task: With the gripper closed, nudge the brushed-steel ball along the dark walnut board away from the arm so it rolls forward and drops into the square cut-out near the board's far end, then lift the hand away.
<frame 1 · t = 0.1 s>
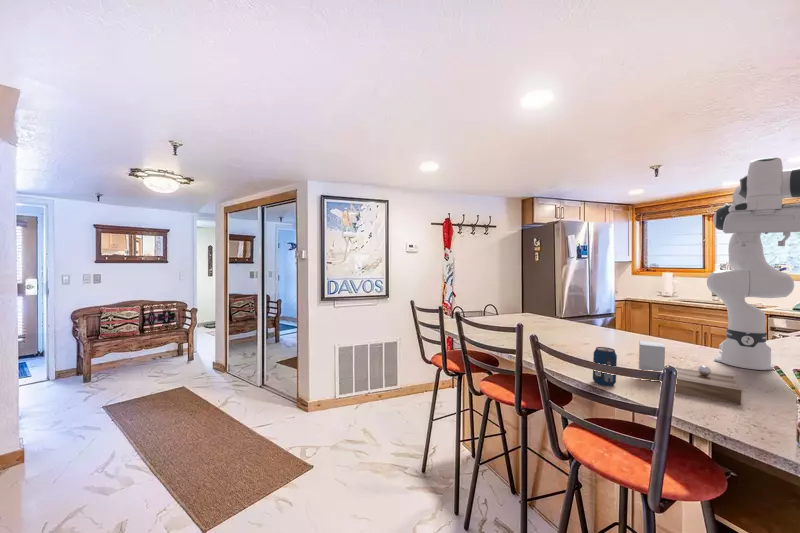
hand: (761, 246, 125), 48 cm above the countertop, fingers open, 8 cm apart
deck: (704, 387, 123), on the countertop
soda can: (604, 384, 126), on the countertop
ball: (704, 370, 128), point 4 cm above the countertop, touching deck
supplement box: (650, 378, 133), on the countertop
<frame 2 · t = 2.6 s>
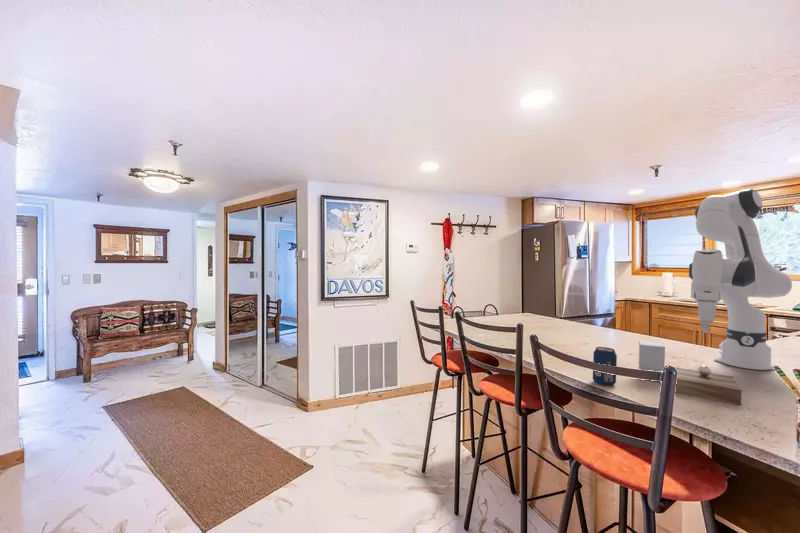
hand: (704, 332, 133), 17 cm above the countertop, fingers closed
nothing on the countertop moved.
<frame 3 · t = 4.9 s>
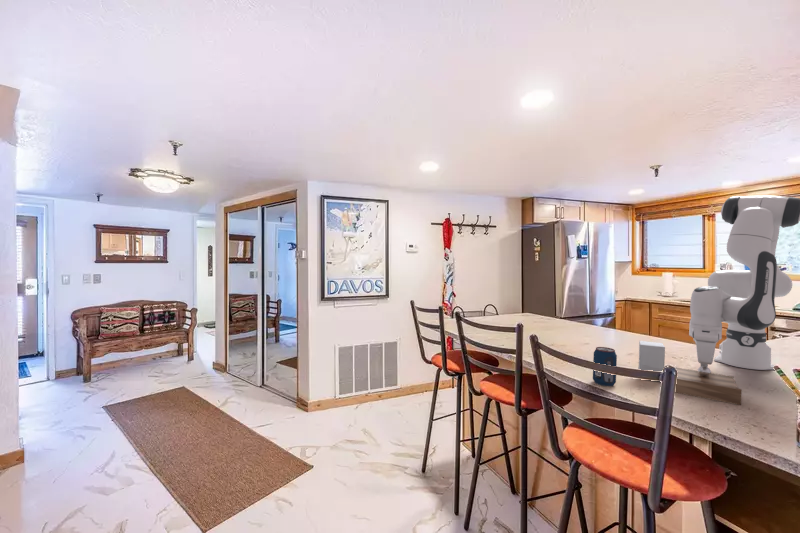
hand: (703, 371, 130), 4 cm above the countertop, fingers closed
ball: (704, 371, 128), point 4 cm above the countertop, tilted 17°, touching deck, gripper
everything else where it was.
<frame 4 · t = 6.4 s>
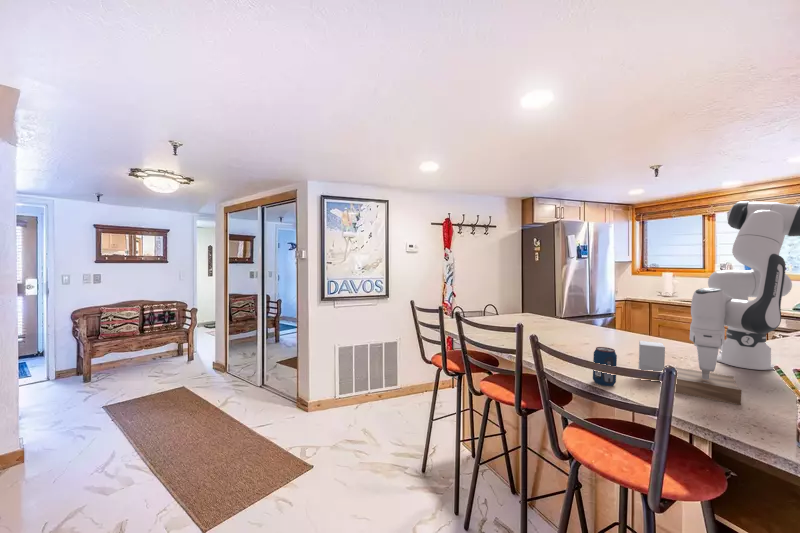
hand: (705, 378, 122), 4 cm above the countertop, fingers closed
ball: (705, 387, 118), point 2 cm above the countertop, tilted 79°
everything else where it was.
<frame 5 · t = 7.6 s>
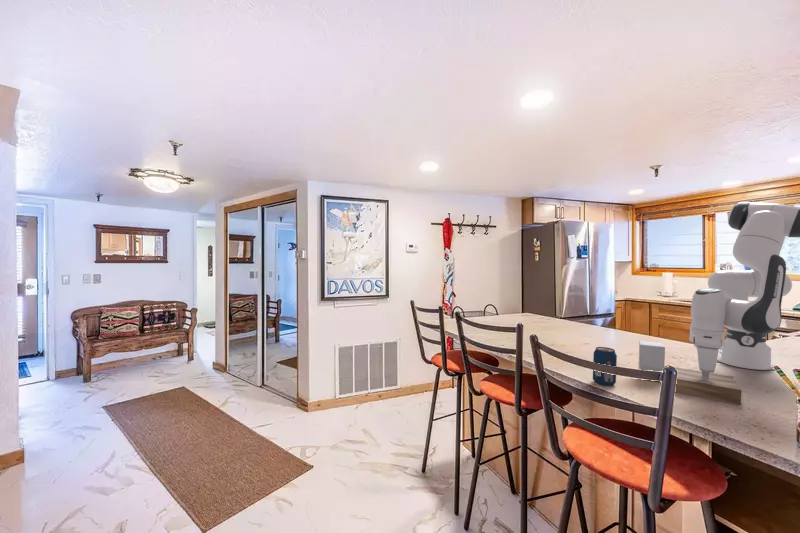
hand: (705, 379, 122), 3 cm above the countertop, fingers closed
ball: (705, 387, 119), point 2 cm above the countertop, tilted 53°
everything else where it was.
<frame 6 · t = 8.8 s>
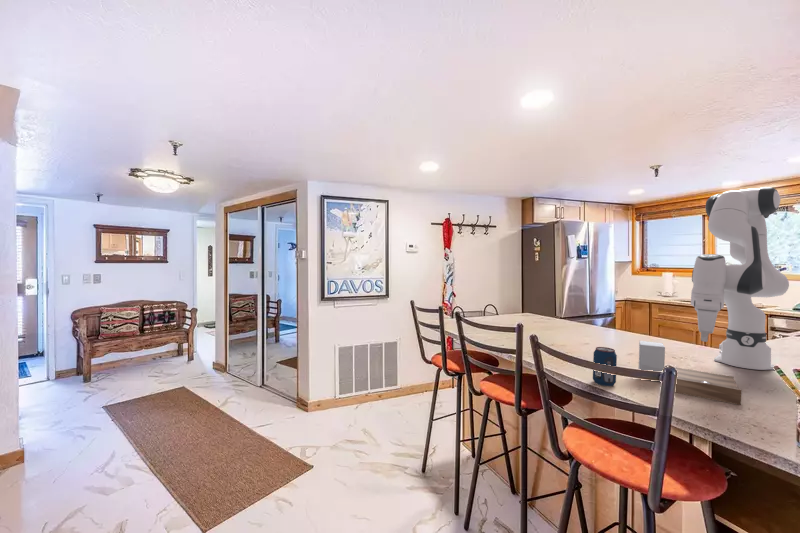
hand: (704, 340, 128), 15 cm above the countertop, fingers closed
ball: (705, 386, 119), point 2 cm above the countertop, tilted 41°
everything else where it was.
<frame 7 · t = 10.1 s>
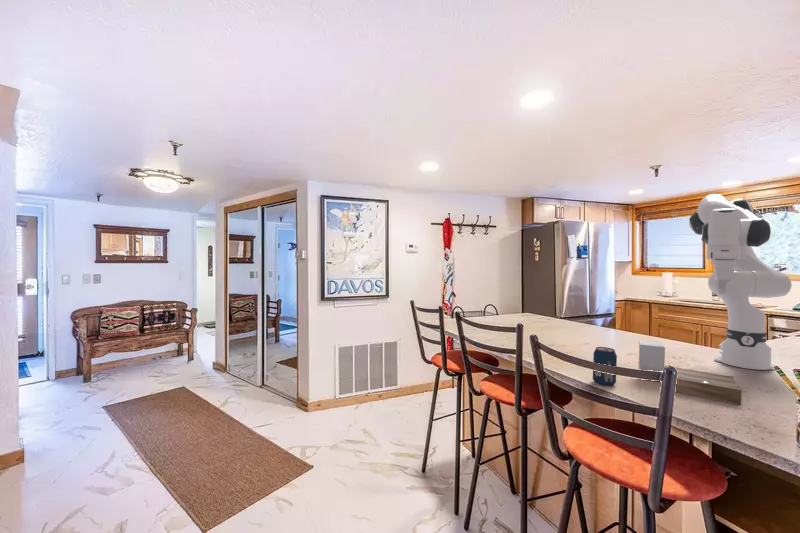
hand: (721, 293, 129), 31 cm above the countertop, fingers closed
nothing on the countertop moved.
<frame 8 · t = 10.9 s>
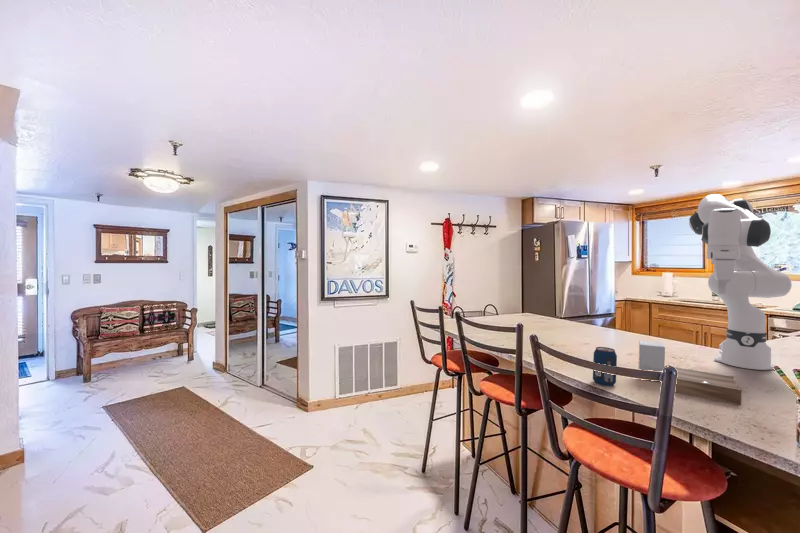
hand: (721, 293, 129), 31 cm above the countertop, fingers closed
nothing on the countertop moved.
at the end: ball 0.6 cm from the target spot in the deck, point 1.7 cm above the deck's base; ball point 1.7 cm above the countertop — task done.
